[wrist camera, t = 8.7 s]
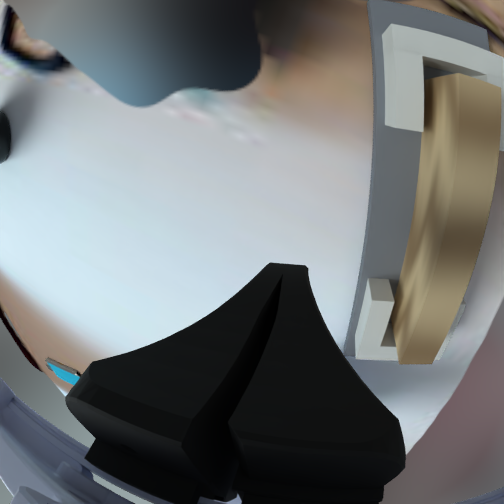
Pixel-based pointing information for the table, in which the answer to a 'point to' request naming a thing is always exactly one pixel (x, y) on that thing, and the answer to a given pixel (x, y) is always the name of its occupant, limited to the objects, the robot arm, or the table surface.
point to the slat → (446, 211)
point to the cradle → (405, 151)
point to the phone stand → (63, 371)
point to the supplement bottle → (4, 137)
